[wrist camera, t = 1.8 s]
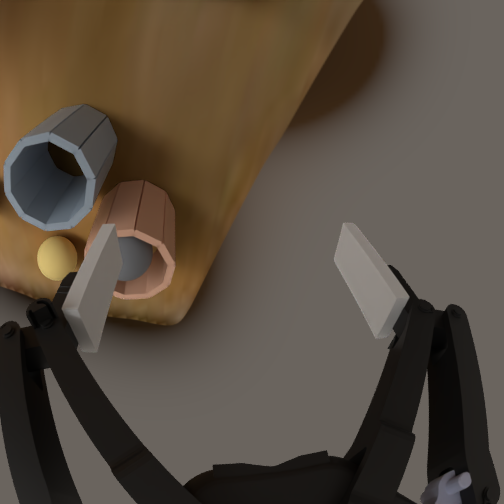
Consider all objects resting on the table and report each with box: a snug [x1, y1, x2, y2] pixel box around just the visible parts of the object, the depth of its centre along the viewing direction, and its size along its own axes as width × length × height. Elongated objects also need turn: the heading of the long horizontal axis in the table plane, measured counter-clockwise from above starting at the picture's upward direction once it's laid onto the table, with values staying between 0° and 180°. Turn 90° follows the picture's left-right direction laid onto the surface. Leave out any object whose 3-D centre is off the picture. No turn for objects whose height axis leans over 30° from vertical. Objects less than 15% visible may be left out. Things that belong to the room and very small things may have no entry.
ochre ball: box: [37, 236, 77, 281], centre depth 34 cm, size 6×6×6 cm
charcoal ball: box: [118, 236, 153, 281], centre depth 29 cm, size 6×6×6 cm
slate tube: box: [4, 104, 118, 231], centre depth 24 cm, size 10×10×10 cm
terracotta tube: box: [84, 180, 176, 300], centre depth 32 cm, size 10×10×10 cm
